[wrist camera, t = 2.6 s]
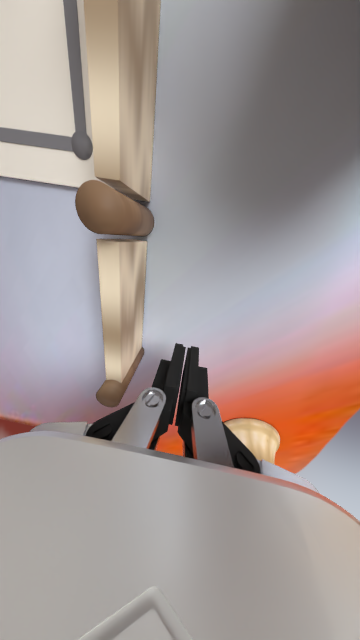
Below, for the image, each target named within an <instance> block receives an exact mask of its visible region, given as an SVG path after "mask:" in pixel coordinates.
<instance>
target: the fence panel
mask: <svg viewBox="0 0 360 640" xmlns="http://www.w3.org/2000/svg"><path fill="white" fill-rule="evenodd" d="M97 252H98V267H99V281H100V296H101V311H102V325H103V340H104V354H105V369H106V380H105V382H104V383H103V385H102V386H101V388H100V389H99V390H98V392H97V393H96V398H97V400H98V401H99V402H100V403H101V404H102V405H104V406H107V407H115V406H117V405H118V404H119V403H120V401H121V399H122V397H123V395H124V393H125V391H126V389H127V387H128V385H129V383H130V381H131V379H132V377H133V375H134V373H135V371H136V369H137V367H138V365H139V363H140V361H141V359H142V357H143V355H144V349H143V348H142V333H143V314H144V294H145V275H146V255H147V241H142V240H136V239H97Z"/></svg>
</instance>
